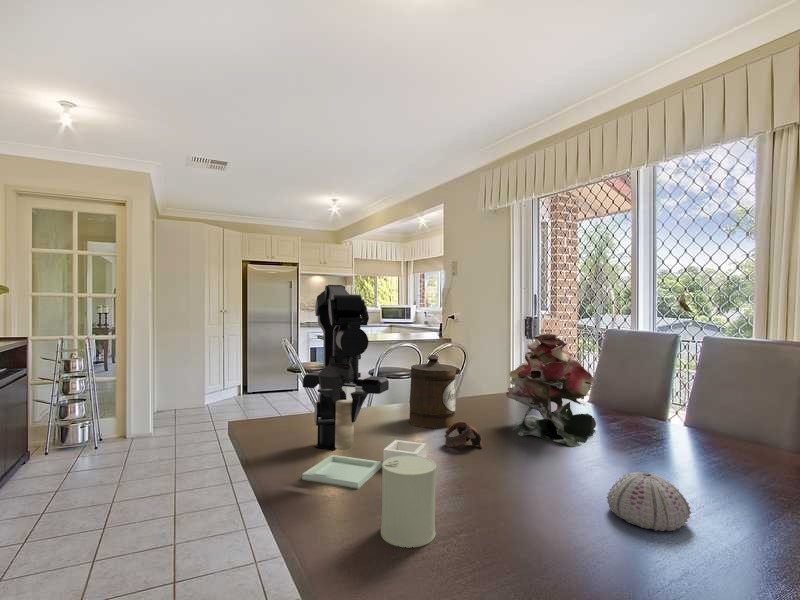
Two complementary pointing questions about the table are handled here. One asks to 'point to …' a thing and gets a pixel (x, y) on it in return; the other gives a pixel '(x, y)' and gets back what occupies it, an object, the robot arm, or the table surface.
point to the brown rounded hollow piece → (463, 435)
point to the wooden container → (432, 394)
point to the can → (408, 501)
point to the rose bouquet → (552, 391)
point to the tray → (343, 471)
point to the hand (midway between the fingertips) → (344, 421)
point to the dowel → (344, 425)
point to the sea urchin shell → (648, 502)
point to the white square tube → (405, 449)
